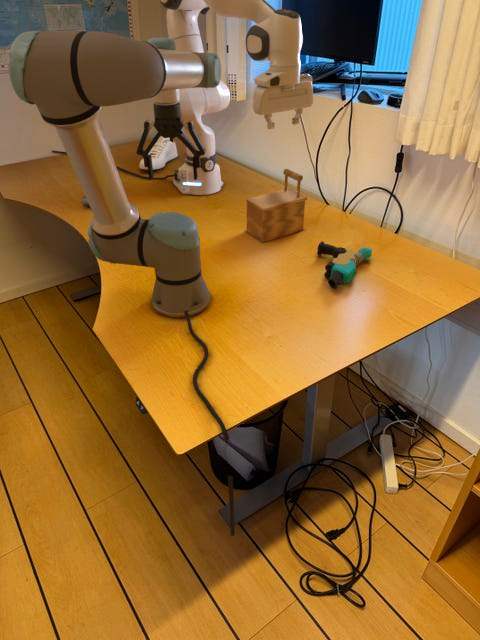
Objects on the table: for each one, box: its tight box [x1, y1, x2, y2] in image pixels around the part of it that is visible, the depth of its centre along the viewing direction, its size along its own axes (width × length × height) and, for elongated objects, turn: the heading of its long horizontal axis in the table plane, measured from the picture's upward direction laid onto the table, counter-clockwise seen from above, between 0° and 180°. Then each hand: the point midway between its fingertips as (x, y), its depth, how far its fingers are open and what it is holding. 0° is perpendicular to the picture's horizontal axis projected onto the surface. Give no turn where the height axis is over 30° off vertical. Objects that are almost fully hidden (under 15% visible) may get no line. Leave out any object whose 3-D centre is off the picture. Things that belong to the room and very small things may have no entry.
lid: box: [246, 168, 308, 212], centre depth 152 cm, size 17×10×8 cm, turn 122°
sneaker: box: [139, 136, 179, 171], centre depth 214 cm, size 10×29×12 cm, turn 163°
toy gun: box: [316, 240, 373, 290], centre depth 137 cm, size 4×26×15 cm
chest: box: [246, 200, 306, 243], centre depth 157 cm, size 16×10×10 cm, turn 122°
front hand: (173, 178), depth 144 cm, fingers open, 13 cm apart
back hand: (283, 126), depth 146 cm, fingers open, 8 cm apart
